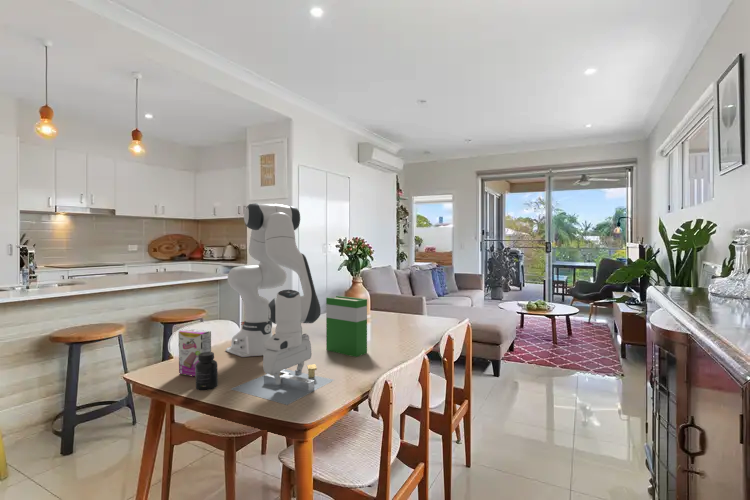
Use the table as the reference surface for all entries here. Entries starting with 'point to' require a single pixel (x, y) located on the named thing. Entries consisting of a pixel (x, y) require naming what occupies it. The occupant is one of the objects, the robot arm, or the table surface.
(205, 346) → the candy bar box
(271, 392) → the board
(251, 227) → the robot arm
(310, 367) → the keeper
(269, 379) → the link
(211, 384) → the supplement bottle
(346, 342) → the hardback book
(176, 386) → the table surface
